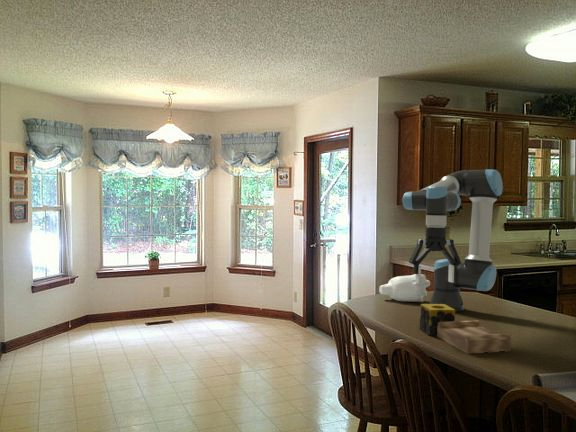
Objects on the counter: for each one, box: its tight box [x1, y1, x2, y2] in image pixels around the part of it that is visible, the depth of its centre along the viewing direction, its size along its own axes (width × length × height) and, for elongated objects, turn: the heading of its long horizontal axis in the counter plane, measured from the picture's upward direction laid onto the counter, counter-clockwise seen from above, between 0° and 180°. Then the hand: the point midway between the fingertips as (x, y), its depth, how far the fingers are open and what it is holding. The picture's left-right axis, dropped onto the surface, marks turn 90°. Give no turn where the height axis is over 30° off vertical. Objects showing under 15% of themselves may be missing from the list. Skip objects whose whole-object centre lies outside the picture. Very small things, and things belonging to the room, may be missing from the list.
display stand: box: [436, 319, 512, 355], centre depth 174 cm, size 16×20×6 cm
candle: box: [419, 303, 456, 337], centre depth 188 cm, size 10×10×10 cm
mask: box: [378, 273, 431, 303], centre depth 247 cm, size 14×14×25 cm
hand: (434, 282), depth 188 cm, fingers open, 13 cm apart
